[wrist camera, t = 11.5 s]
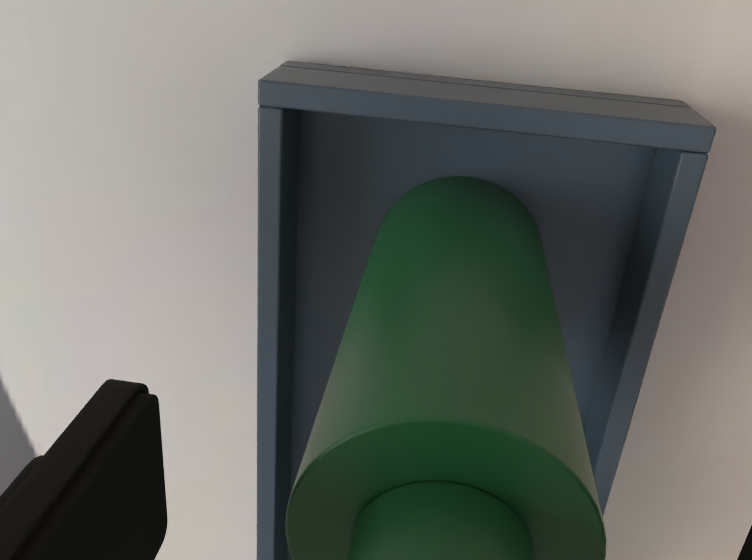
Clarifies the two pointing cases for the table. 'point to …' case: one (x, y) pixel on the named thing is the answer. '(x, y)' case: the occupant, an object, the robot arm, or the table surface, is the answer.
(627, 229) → the tray
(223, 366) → the table surface
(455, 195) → the loose bottle
